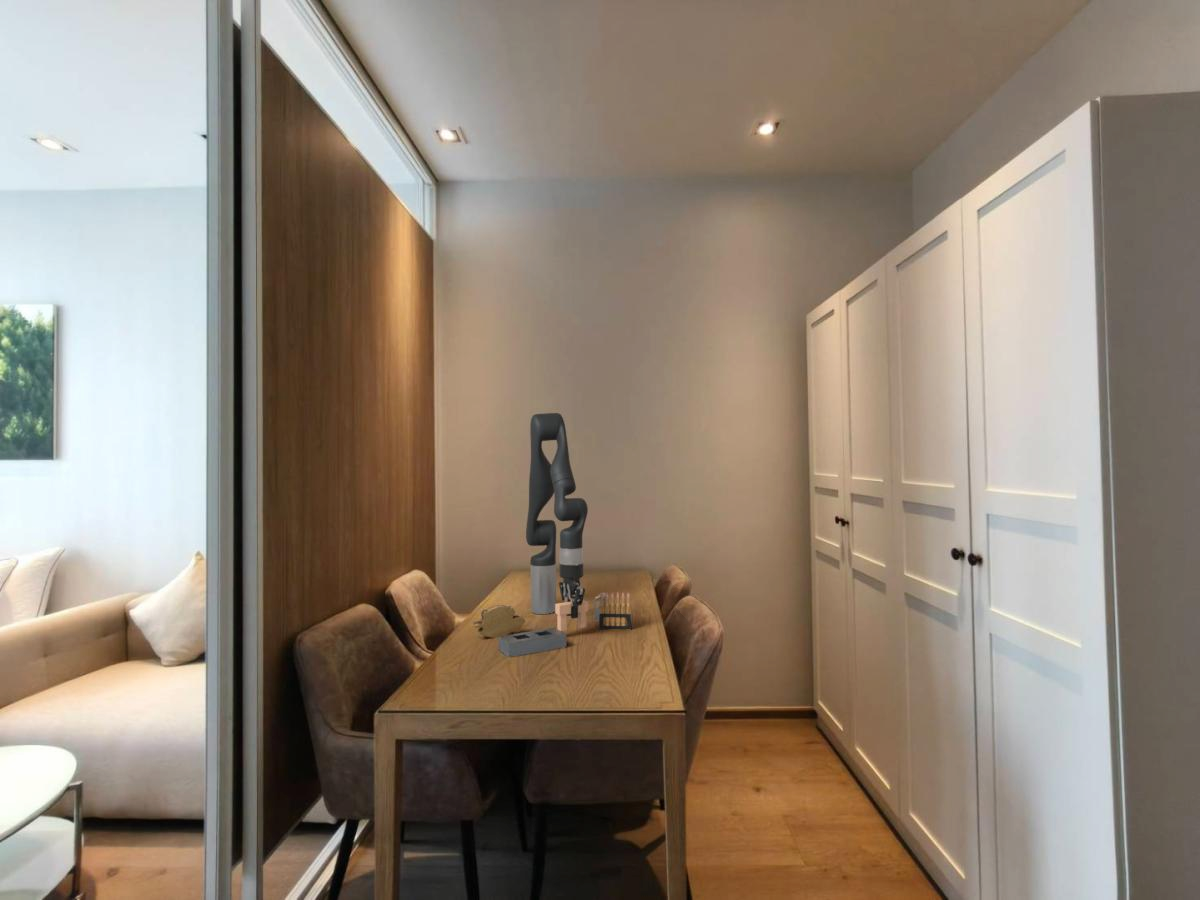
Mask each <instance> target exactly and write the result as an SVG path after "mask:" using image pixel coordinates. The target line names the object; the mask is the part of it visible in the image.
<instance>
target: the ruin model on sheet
mask: <svg viewBox="0 0 1200 900" xmlns="http://www.w3.org/2000/svg"><path fill="white" fill-rule="evenodd" d="M602 593H603V598H604V612H605V597H606V593H607V592H602ZM600 594H601V592H600V593H599V594H598V595H597V596H595V597H594V601H593V602H594V603H593V605H594V621H595V620H599V605H600Z"/></svg>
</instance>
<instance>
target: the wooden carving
mask: <svg viewBox="0 0 1200 900" xmlns="http://www.w3.org/2000/svg"><path fill="white" fill-rule="evenodd" d="M515 613H516V610H515V609H514V607H513V606H512V605H509V606H507V605H504V604H497V605H492V606H490V607H488V608H486V609H482V611H481V616H480V617H481V619H480V620H479V621H474V622H473V625H474V627H475V628H477V631H478V633H479V634H480V635H482V636H483V637H487V638H491V639H496V638H495V637H499V636H505V635H511V633H514V634H518V633H521V631H522V627H523V625H524V623H525V622H526V619H525V618H523V617H522V616H520V615H517V614H515Z"/></svg>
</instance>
